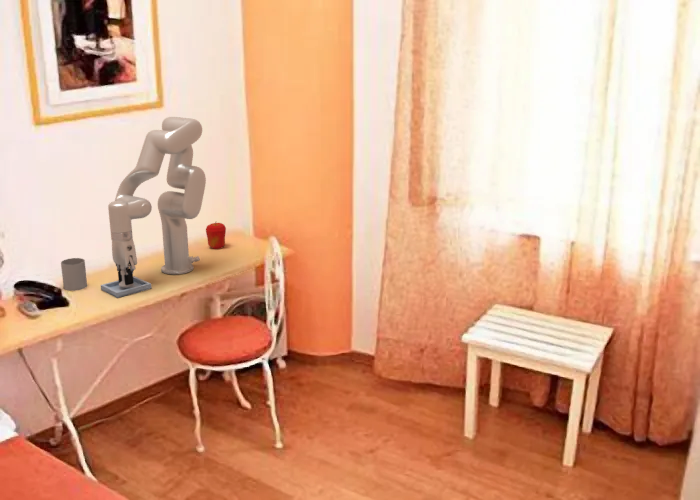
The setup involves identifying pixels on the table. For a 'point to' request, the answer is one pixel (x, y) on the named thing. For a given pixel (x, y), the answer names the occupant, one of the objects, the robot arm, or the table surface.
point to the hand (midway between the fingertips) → (126, 282)
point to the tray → (125, 288)
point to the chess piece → (122, 283)
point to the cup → (74, 274)
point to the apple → (216, 235)
